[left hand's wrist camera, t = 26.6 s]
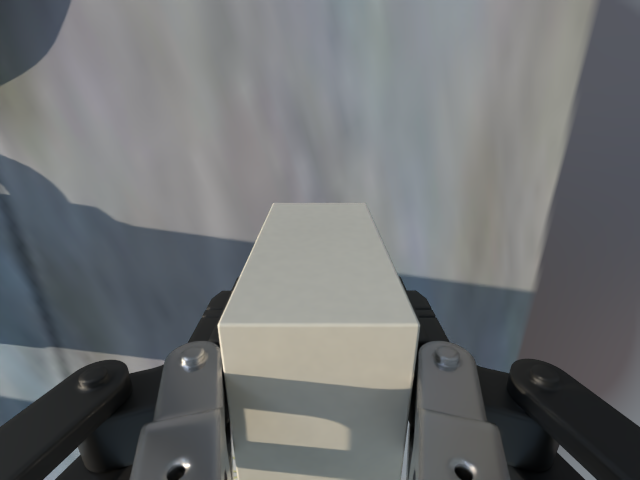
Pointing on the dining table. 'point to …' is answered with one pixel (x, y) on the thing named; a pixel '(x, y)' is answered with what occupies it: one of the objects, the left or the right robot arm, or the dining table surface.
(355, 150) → the dining table surface
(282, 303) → the brick
